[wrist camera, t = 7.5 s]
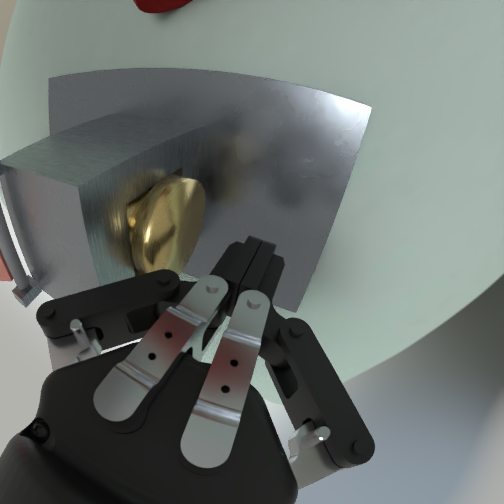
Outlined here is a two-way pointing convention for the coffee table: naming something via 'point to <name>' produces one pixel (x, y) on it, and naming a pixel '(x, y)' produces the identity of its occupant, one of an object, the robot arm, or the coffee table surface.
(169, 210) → the brass pin
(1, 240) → the latch flap
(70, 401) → the robot arm
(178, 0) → the mechanical linkage
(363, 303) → the coffee table surface
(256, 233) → the latch base plate
